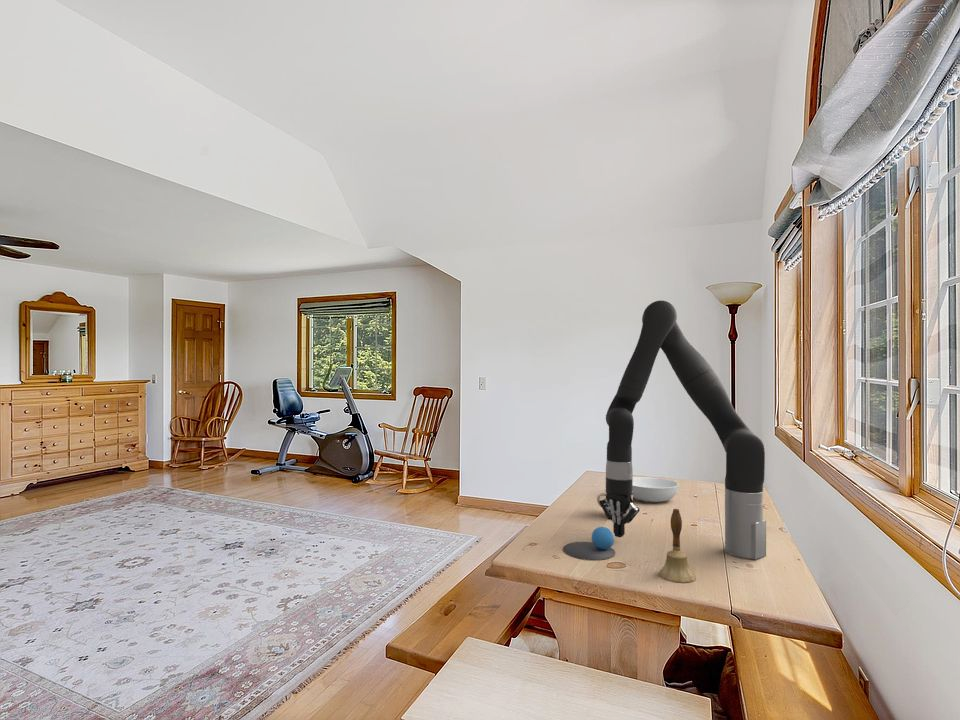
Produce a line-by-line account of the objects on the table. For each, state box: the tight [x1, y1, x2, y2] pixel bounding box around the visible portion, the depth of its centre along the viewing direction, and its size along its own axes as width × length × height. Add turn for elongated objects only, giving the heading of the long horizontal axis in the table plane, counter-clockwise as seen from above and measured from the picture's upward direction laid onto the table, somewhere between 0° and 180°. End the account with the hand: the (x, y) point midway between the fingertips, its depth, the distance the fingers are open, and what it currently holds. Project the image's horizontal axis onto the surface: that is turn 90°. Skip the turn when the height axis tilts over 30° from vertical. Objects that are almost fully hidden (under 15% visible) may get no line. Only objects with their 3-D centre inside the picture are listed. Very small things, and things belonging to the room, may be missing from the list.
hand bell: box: [658, 508, 696, 584], centre depth 124 cm, size 8×8×16 cm
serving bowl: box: [633, 476, 680, 503], centre depth 198 cm, size 21×21×7 cm
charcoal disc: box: [562, 541, 616, 561], centre depth 141 cm, size 14×14×1 cm
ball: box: [591, 526, 615, 550], centre depth 142 cm, size 6×6×6 cm
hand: (618, 536), depth 149 cm, fingers closed
